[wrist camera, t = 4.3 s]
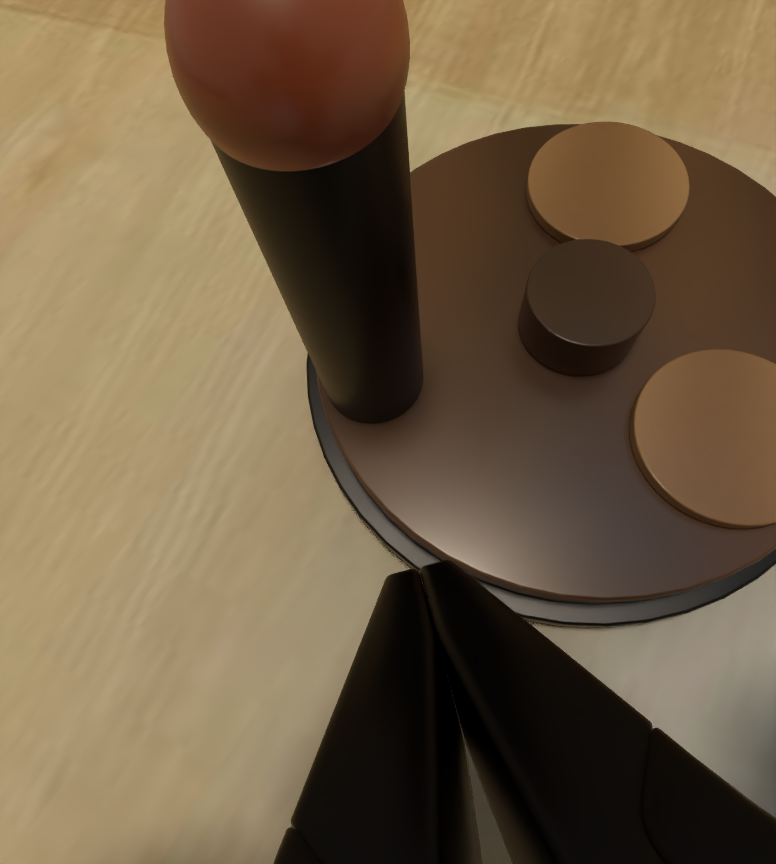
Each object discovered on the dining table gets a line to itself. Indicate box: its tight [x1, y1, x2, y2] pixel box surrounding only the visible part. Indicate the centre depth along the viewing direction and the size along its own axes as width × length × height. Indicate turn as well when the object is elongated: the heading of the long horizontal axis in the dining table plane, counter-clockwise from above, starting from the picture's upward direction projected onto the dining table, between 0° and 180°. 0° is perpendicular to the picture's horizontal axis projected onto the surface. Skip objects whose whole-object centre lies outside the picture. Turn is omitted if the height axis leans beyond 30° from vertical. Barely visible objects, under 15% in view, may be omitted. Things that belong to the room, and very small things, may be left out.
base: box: [307, 354, 776, 628], centre depth 17 cm, size 15×15×1 cm
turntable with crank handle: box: [164, 0, 776, 604], centre depth 11 cm, size 14×14×11 cm
